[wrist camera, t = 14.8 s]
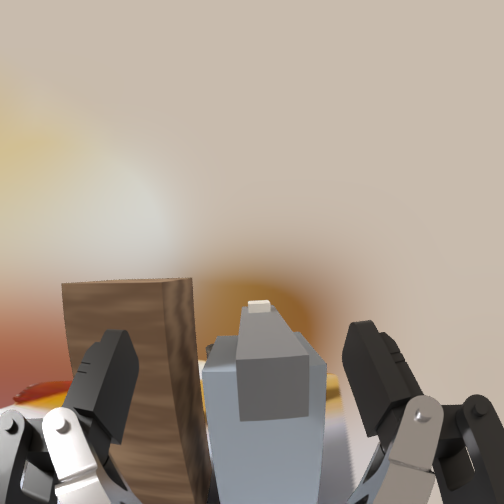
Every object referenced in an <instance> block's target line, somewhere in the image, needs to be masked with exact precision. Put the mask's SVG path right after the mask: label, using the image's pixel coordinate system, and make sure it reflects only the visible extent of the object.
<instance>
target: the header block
mask: <svg viewBox="0 0 504 504" xmlns="http://www.w3.org/2000/svg"><path fill="white" fill-rule="evenodd" d="M293 333H294V334H295V336H296V337H297V339H298V340H299V341H300V343H301V344H302V345H303V347H304V348H305V350H306V351H307V352H308V354H309V416H307V417H299V418H289V419H278V420H265V421H244V422H240V417H239V404H238V390H237V375H236V360H235V359H236V352H237V344H238V336H217V339H216V341H215V343H214V345H213V347H212V350H211V352H210V354H209V357H208V359H207V361H206V363H205V366H204V368H203V370H202V379H203V388H204V398H205V406H206V414H207V422H208V430H209V437H210V444H211V451H212V458H213V464H214V470H215V476H216V482H217V488H218V494H219V499H220V504H317V501H318V493H319V484H320V475H321V464H322V453H323V440H324V425H325V406H326V377H327V364H326V363H325V362H324V360H323V359H322V358H321V357H320V356H319V354H318V353H317V352H316V351H315V350H314V349H313V348H312V346H311V345H310V344H309V343H308V342H307V340H306V339H305V338H304V337H303V336H302V334H301V333H300V332H293Z"/></svg>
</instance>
